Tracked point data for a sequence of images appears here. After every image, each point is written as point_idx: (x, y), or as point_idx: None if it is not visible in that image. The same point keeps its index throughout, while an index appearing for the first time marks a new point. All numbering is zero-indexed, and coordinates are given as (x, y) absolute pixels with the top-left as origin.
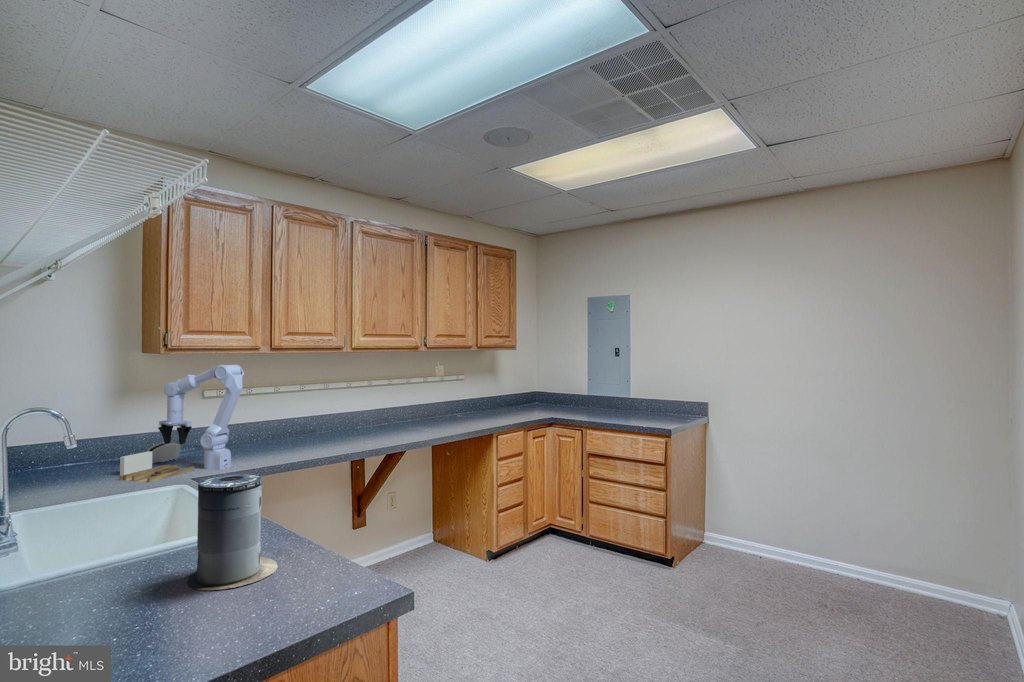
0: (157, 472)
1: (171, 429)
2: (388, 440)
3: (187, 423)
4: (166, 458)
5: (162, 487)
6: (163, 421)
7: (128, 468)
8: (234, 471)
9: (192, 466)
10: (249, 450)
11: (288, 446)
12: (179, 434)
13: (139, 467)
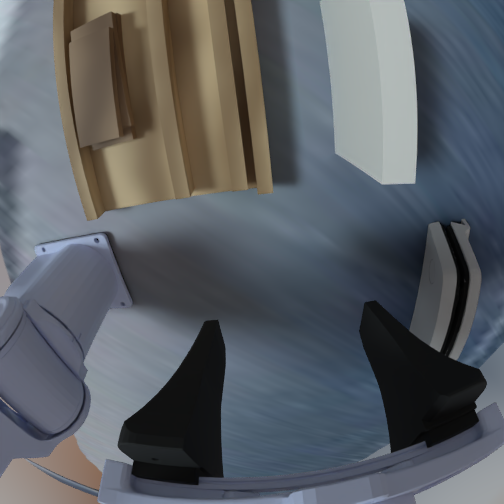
0: (90, 34)
1: (390, 425)
2: None
3: (99, 490)
4: (418, 309)
5: (4, 21)
6: (466, 466)
7: (336, 9)
8: (20, 273)
9: (95, 218)
10: (278, 439)
11: (228, 461)
12: (188, 384)
13: (342, 76)
